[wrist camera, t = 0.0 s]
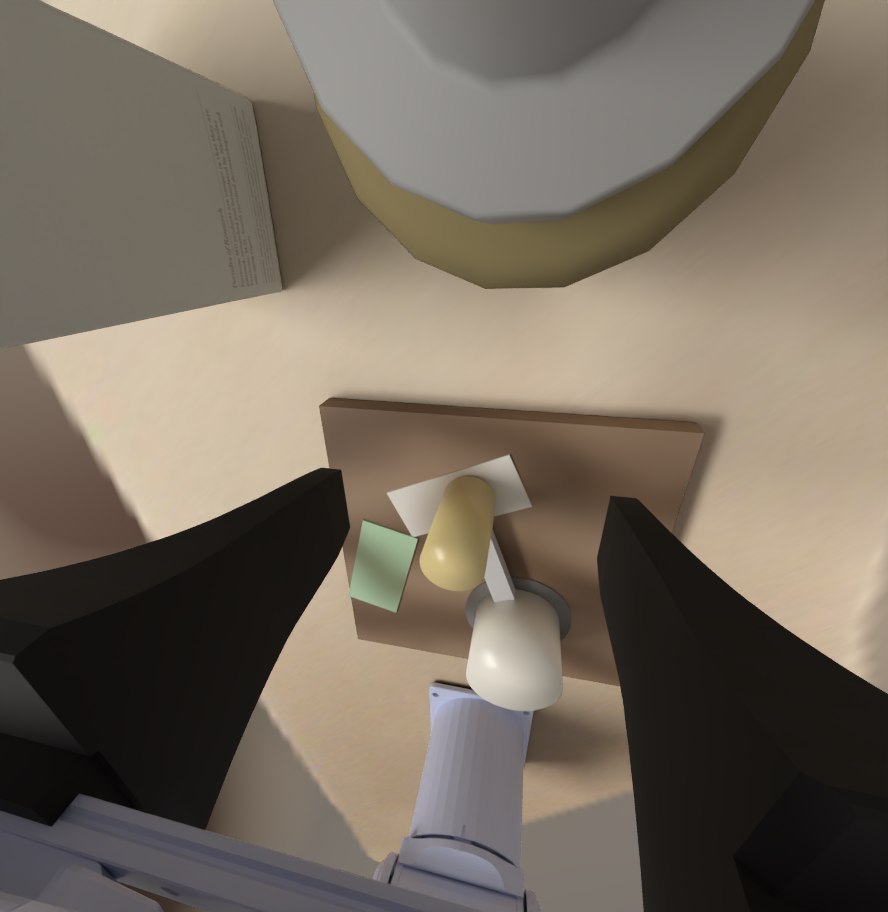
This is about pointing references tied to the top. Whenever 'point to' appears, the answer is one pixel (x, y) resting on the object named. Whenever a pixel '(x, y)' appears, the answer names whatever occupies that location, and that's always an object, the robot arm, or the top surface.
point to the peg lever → (494, 603)
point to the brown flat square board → (516, 515)
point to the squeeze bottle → (543, 119)
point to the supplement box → (120, 183)
